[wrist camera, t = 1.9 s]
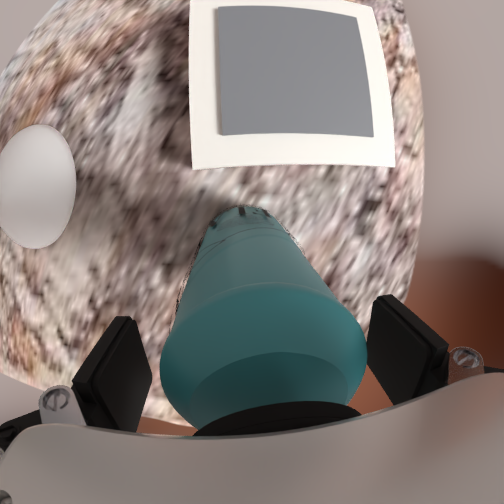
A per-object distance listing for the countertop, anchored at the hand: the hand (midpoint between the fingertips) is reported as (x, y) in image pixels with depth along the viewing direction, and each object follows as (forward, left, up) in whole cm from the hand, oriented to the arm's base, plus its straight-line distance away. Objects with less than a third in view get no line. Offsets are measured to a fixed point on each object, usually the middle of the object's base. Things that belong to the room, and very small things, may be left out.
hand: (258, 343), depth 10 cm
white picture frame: (-13, +4, -13) cm, 19 cm away
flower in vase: (-7, -18, -13) cm, 23 cm away
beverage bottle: (0, 0, -13) cm, 13 cm away
